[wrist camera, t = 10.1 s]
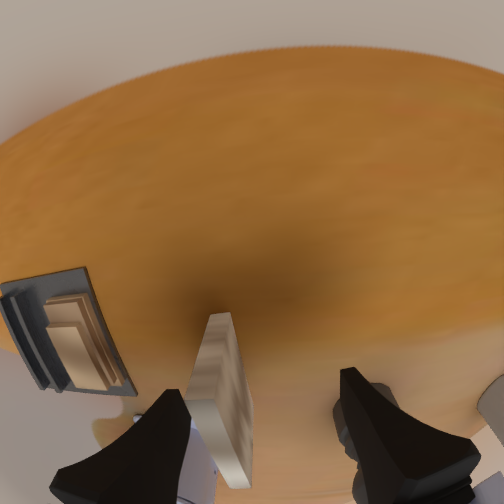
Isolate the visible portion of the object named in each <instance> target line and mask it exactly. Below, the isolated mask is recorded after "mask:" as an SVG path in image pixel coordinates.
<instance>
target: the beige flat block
mask: <svg viewBox="0 0 504 504" xmlns="http://www.w3.org/2000/svg"><path fill="white" fill-rule="evenodd" d="M184 402H185V404H186V406H187V408H188V410H189V413H190V415H191V417H192V419H193V421H194V423H195V425H196V427H197V429H198V431H199V433H200V435H201V437H202V439H203V441H204V443H205V445H206V447H207V449H208V450H209V452H210V454H211V456H212V458H213V460H214V461H215V463H216V465H217V467H218V469H219V470H220V472H221V474H222V476H223V477H224V479H225V481H226V482H227V484H228V486H229V487H230V489H242V488H251V487H252V452H253V415H254V405H253V401H252V397H251V394H250V390H249V386H248V382H247V378H246V374H245V370H244V366H243V363H242V359H241V355H240V351H239V347H238V342H237V338H236V334H235V330H234V326H233V322H232V318H231V313H230V312H227V313H219V314H211V315H210V317H209V320H208V323H207V327H206V330H205V333H204V336H203V339H202V342H201V346H200V349H199V352H198V355H197V358H196V362H195V365H194V368H193V371H192V375H191V378H190V381H189V385H188V388H187V391H186V394H185V398H184Z"/></svg>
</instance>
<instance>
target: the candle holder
mask: <svg viewBox="0 0 504 504" xmlns="http://www.w3.org/2000/svg"><path fill="white" fill-rule="evenodd" d="M370 384H371V385H372V386H373V387H374V388H375V389H376V390H378V391H379V392H380V393H381V394H382V395H383V396H384V397H385V398H387V399H388V400H389V401H390V402H392V403H393V404H394V405H395V406H397V407H398V408H399V406H398V404H397V402H396V400H395V398H394V396H393V394H392V392H391V390H390V388H389V387H388V386H386V385H384V384H381V383H370ZM333 418H334V422H335V426H336V430H337V433H338V437H339V441H340V442H341V444H342V445H343V446H344V447H345V453H346V454H347V455H348V456H349V457H350V458H351V459H354V460H355V461H356V462H358V464H357V469H358V471H357V473H356V475H355V478H354V481H353V488H352V494H353V498H354V500H355V501H356V503H357V504H368V498H367V492H366V487H365V482H364V478H363V473H362V469H361V464H360V461H359V458H358V455H357V452H356V449H355V447H354V444H353V441H352V439H351V436H350V433H349V431H348V428H347V425H346V422H345V420H344V416H343V412H342V407H341V403H340V399H339V400H338V401H337V403H336V405H335V407H334V409H333Z"/></svg>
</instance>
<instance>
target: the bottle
mask: <svg viewBox="0 0 504 504" xmlns="http://www.w3.org/2000/svg"><path fill="white" fill-rule="evenodd" d="M477 409H478V411H479V412H480V413H481V415H482V416H483V418H484V419H485V421H486V422H487V423H488V425H489V426H490V428H491V429H492V430H493V432H494V433H495V435H496V436H497V438H498V439H499V441H500V442H501V444H502V445H503V447H504V375H502V376H500V377H499V378H497V379H496V380H495V381H494V382H493V383H492V384H491V385H490V386H489V387H488V388H487V389H486V391H485V392H484V394H483V395H482V396H481V398H480V400H479V402H478V405H477Z"/></svg>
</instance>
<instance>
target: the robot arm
mask: <svg viewBox="0 0 504 504" xmlns="http://www.w3.org/2000/svg"><path fill="white" fill-rule="evenodd" d="M340 403H341V407H342V412H343V416H344V420H345V422H346V425H347V428H348V431H349V433H350V436H351V439H352V441H353V444H354V447H355V449H356V452H357V455H358V458H359V461H360V464H361V469H362V473H363V478H364V482H365V487H366V492H367V498H368V504H504V477H503V475H502V473H501V472H500V471H498V472H497V473H495V474H494V475H492V476H490V477H489V478H488V479H486V480H484V481H483V482H481V483H479V484H478V485H477V486H475V487H474V488H473V489H472V488H471V486H470V484H471V483H472V479H471V477H470V474H471V473H472V471H473V470H474V469H475V467H476V466H477V465H478V463H479V461H480V459H481V454H480V453H479V451H478V449H477V448H476V446H475V445H474V444H473V442H472V441H471V440H470V439H467V438H463V437H459V436H455V435H451V434H448V433H446V432H443V431H440V430H437V429H435V428H433V427H431V426H429V425H427V424H424V423H422V422H420V421H419V420H417V419H415V418H413V417H412V416H410V415H408V414H407V413H405V412H404V411H402V410H401V409H400V408H398V407H397V406H395V405H394V404H393V403H392V402H390V401H389V400H388V399H387V398H385V397H384V396H383V395H382V394H381V393H380V392H379V391H378V390H376V389H375V388H374V387H373V386H372V385H371V384H370V383H369V382H368V381H367V380H366V379H365V378H364V377H363V376H362V374H361V373H360V372H359V371H358V370H357V369H356V368H355V367H350V368H346V369H341V370H340ZM133 420H134V422H135V424H134V425H133V426H132V427H131V428H130V429H128V430H127V431H126V432H125V433H124V434H123V435H122V436H120V437H119V438H118V439H117V440H115V441H114V442H113V443H111V444H110V445H108V446H107V447H105V448H104V449H102V450H101V451H99V452H98V453H96V454H94V455H92V456H90V457H88V458H86V459H85V460H82V461H80V462H78V463H75V464H73V465H70V466H67V467H64V468H61V469H59V470H58V471H57V473H56V475H55V477H54V479H53V481H52V483H51V485H50V486H49V489H50V491H51V492H52V494H53V495H55V496H56V497H57V498H58V499H59V500H60V501H62V502H63V503H64V504H214V500H215V491H216V483H217V475H218V467H217V465H216V463H215V461H214V460H213V458H212V456H211V454H210V452H209V450H208V449H207V447H206V445H205V443H204V441H203V439H202V437H201V435H200V433H199V431H198V429H197V427H196V425H195V423H194V421H193V419H192V417H191V415H190V413H189V411H188V409H187V407H186V405H185V403H184V400H183V398H182V396H181V394H180V392H179V389H166V390H165V391H164V392H163V394H162V395H161V396H160V397H159V398H158V399H157V400H156V401H155V403H154V404H153V405H152V406H151V407H150V408H149V409H148V410H147V411H146V412H145V414H144V415H143V416H139V415H135V416H134V417H133Z"/></svg>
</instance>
